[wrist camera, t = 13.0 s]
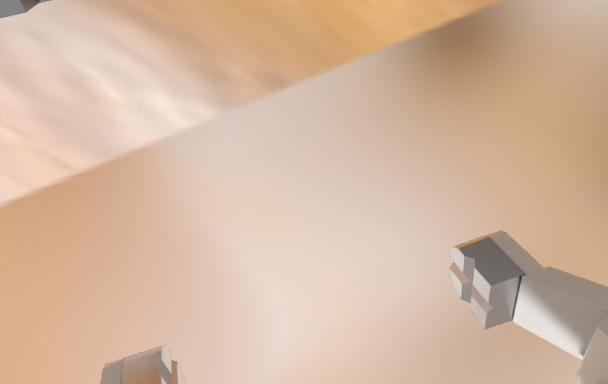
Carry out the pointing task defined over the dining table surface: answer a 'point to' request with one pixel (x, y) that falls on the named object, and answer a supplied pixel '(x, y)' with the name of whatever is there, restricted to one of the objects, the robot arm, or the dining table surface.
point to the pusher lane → (16, 6)
